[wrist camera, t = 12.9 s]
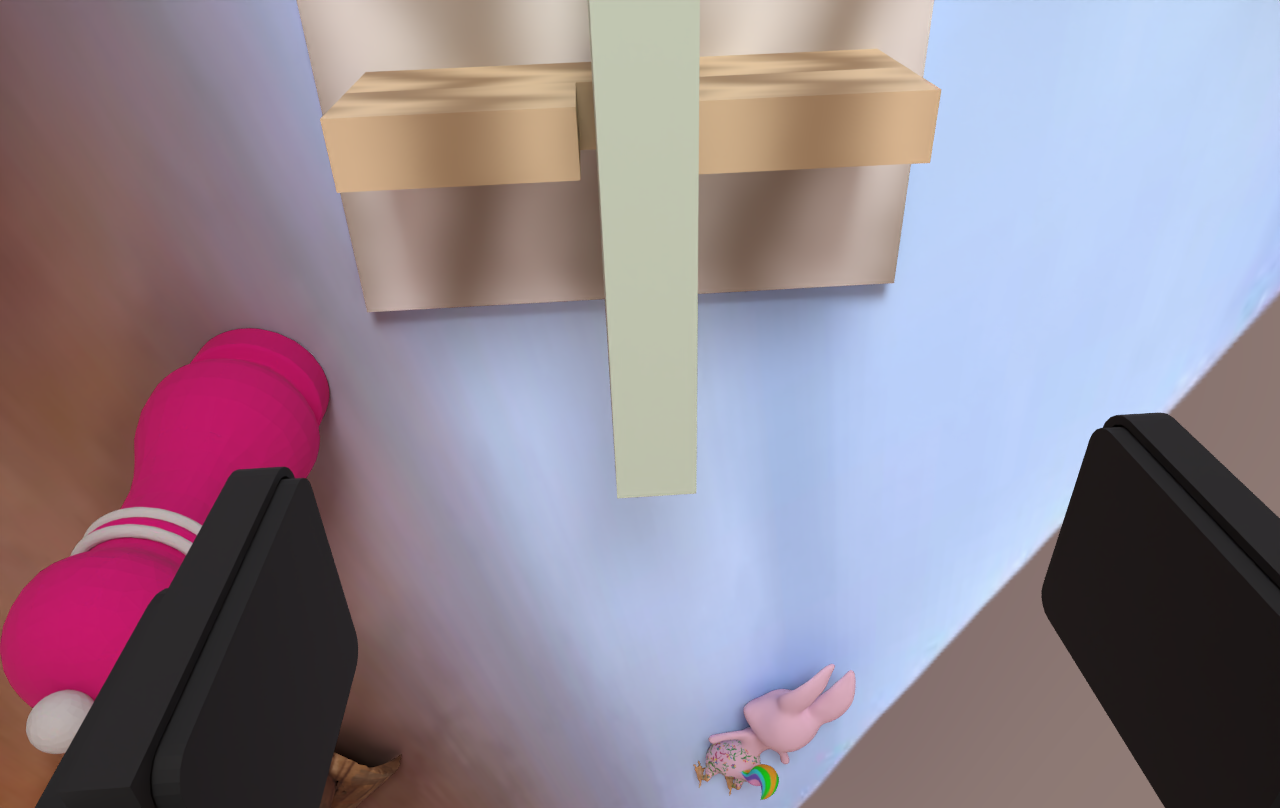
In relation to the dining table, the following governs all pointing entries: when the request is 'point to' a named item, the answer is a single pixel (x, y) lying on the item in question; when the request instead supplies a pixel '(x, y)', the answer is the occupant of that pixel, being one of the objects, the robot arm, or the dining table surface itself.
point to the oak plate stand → (566, 144)
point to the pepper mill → (158, 517)
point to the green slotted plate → (649, 233)
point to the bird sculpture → (354, 781)
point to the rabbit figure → (776, 730)
